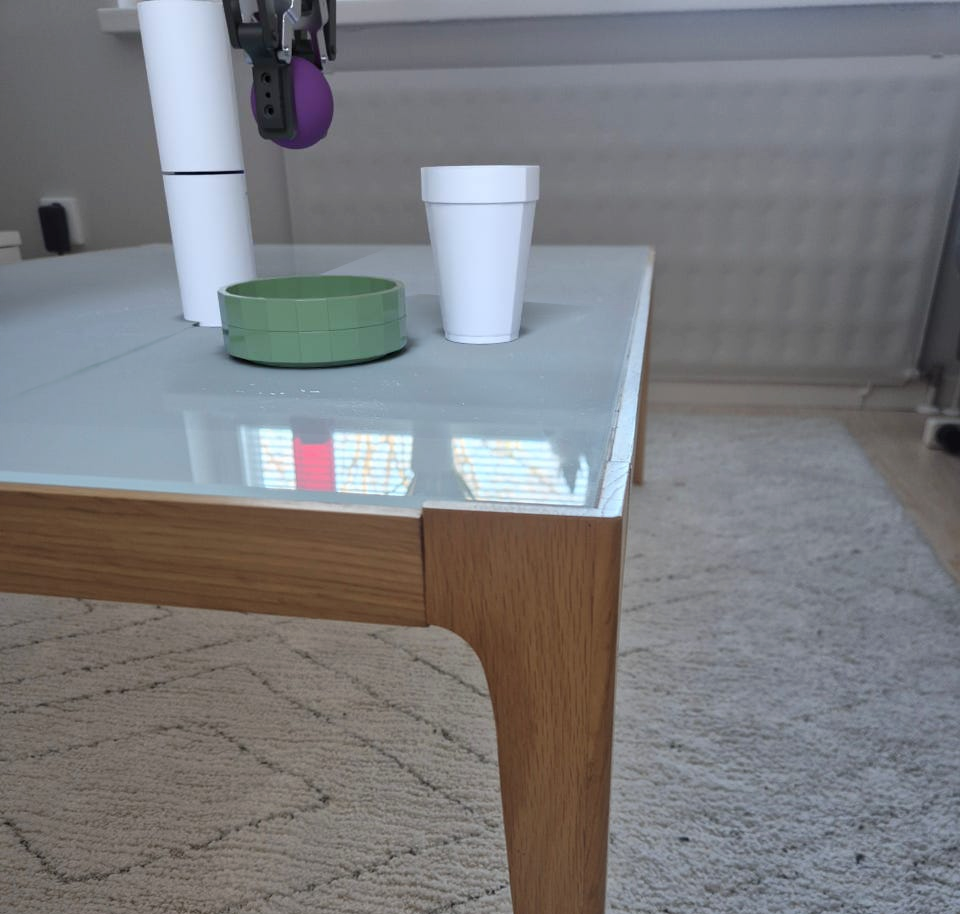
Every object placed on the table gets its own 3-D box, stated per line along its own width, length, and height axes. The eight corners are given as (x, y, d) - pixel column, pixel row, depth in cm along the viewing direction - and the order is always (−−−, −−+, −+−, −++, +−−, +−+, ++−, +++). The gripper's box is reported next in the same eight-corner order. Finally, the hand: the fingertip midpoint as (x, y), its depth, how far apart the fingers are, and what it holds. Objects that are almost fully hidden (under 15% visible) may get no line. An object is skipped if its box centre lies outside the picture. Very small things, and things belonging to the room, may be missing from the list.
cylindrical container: (170, 325, 87) (118, 2, 75) (207, 313, 93) (165, 12, 82) (240, 327, 86) (199, -2, 74) (274, 315, 92) (240, 8, 80)
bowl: (196, 369, 70) (186, 298, 68) (266, 334, 82) (259, 274, 80) (381, 373, 68) (376, 301, 66) (424, 337, 80) (421, 275, 78)
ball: (242, 149, 57) (232, 52, 54) (273, 149, 61) (265, 59, 59) (321, 149, 56) (314, 50, 54) (347, 149, 60) (341, 58, 58)
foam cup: (465, 324, 86) (462, 165, 80) (555, 332, 82) (560, 165, 76) (405, 341, 79) (398, 168, 73) (501, 351, 75) (501, 168, 69)
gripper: (251, -177, 57) (280, 139, 65) (132, -265, 45) (186, 139, 53) (370, -185, 56) (384, 139, 64) (281, -277, 44) (313, 139, 52)
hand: (294, 137), depth 58 cm, fingers closed on ball, 5 cm apart
